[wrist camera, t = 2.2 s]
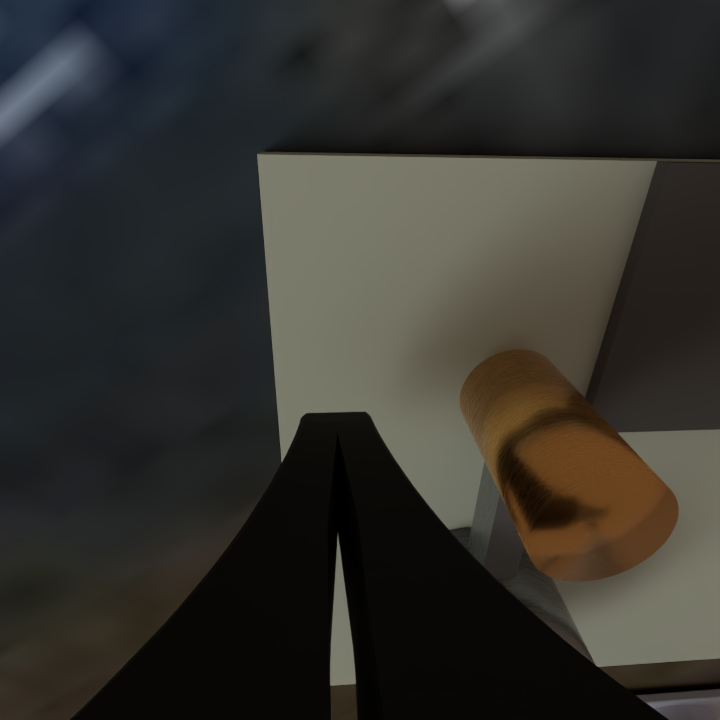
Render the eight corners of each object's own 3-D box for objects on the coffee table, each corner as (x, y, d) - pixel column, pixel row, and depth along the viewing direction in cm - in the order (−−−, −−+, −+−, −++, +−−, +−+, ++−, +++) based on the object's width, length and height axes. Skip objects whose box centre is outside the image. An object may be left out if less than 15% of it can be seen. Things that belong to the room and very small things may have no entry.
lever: (521, 530, 14) (595, 687, 10) (439, 535, 14) (483, 694, 10) (570, 348, 11) (702, 472, 7) (466, 350, 11) (545, 477, 7)
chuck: (526, 630, 18) (618, 862, 12) (374, 640, 17) (399, 885, 12) (561, 522, 15) (701, 760, 9) (381, 530, 15) (418, 785, 9)
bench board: (778, 634, 21) (794, 652, 20) (300, 667, 19) (299, 688, 19) (1141, 166, 11) (1195, 170, 11) (261, 151, 10) (257, 154, 9)
